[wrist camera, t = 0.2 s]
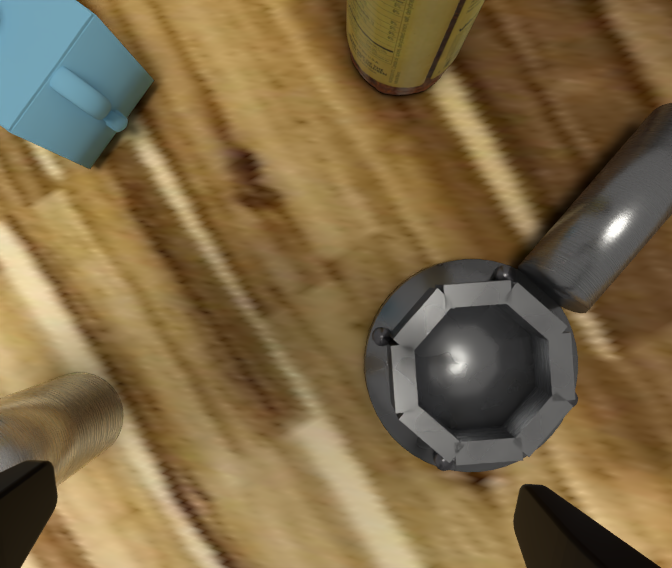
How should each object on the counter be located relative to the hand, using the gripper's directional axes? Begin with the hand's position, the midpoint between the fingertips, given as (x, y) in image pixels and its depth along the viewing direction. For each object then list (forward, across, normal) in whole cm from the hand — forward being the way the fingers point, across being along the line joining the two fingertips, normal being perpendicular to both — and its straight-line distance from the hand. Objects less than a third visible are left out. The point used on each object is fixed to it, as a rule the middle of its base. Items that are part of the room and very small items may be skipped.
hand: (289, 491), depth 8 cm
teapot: (+19, +15, -10) cm, 26 cm away
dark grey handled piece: (+16, -12, 0) cm, 20 cm away
